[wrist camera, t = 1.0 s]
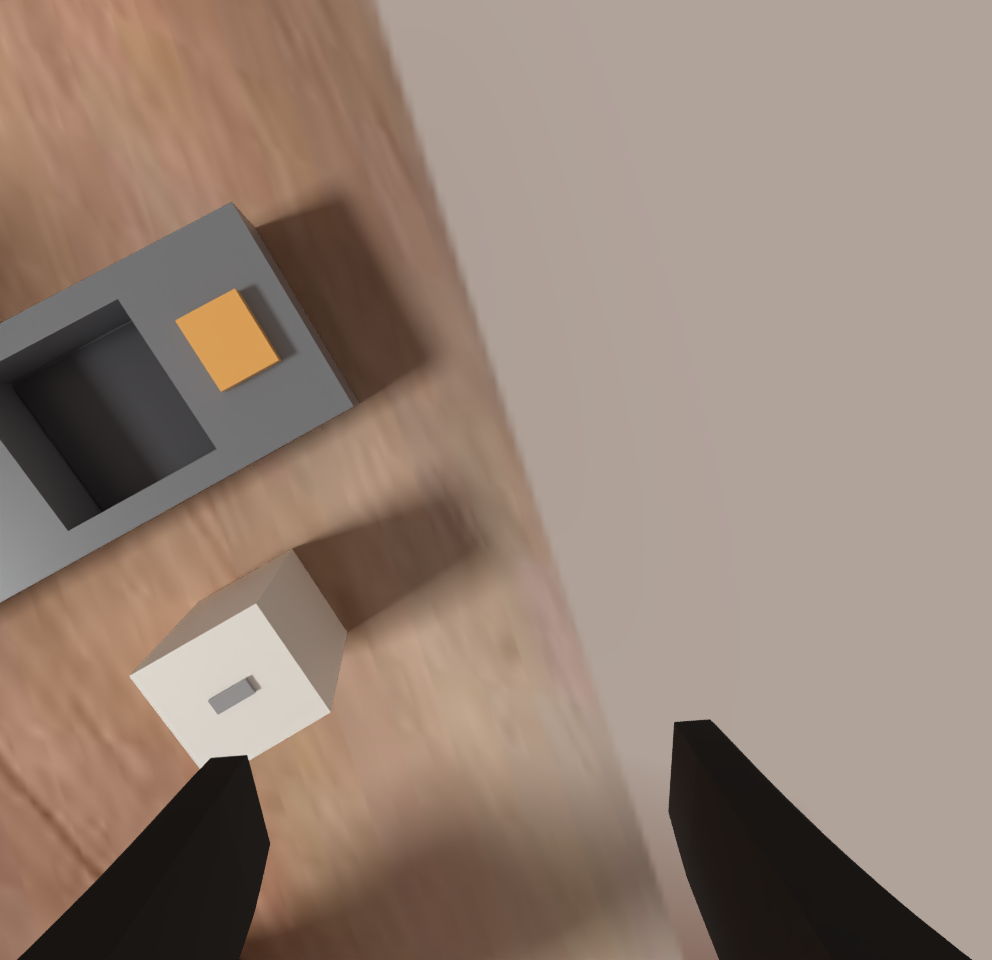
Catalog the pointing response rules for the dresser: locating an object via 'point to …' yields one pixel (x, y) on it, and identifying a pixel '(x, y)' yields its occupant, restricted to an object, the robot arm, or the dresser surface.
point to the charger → (247, 664)
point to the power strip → (150, 391)
